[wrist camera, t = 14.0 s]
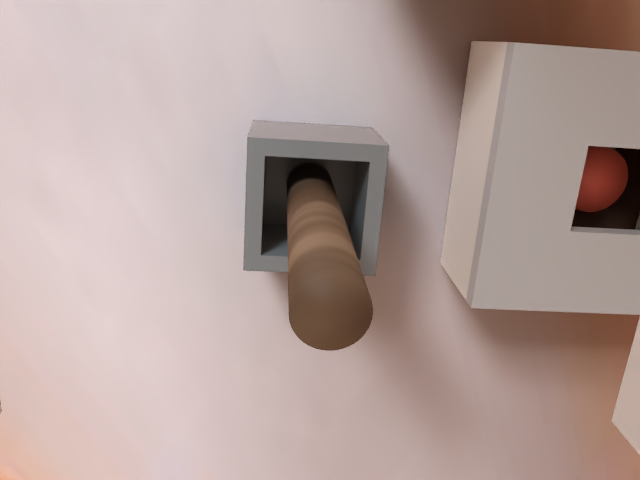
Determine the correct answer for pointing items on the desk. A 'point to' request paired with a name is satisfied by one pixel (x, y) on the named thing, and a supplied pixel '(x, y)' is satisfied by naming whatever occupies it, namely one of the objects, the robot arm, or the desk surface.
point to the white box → (540, 179)
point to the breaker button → (601, 179)
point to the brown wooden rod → (322, 265)
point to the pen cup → (347, 176)
